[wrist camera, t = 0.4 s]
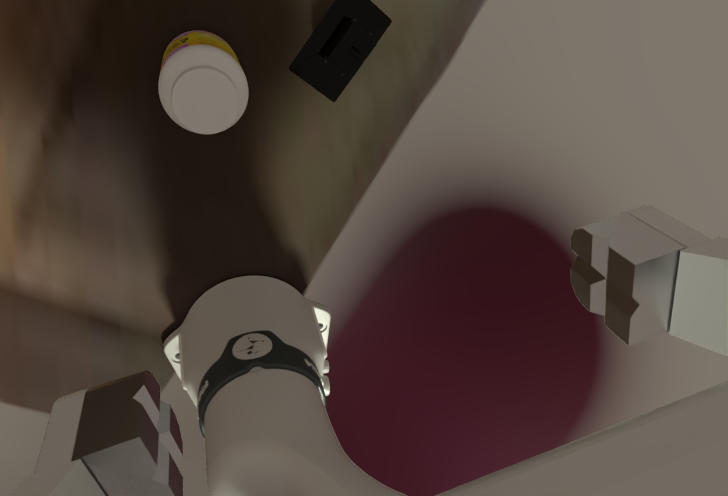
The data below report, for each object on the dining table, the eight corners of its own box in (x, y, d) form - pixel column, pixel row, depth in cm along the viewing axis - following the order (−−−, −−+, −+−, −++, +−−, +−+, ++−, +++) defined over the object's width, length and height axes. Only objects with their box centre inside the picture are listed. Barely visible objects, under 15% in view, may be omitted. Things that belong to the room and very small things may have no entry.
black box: (330, 117, 56) (341, 130, 52) (270, 73, 53) (277, 83, 49) (406, 11, 54) (424, 16, 50) (349, -42, 50) (363, -42, 46)
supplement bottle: (183, 13, 48) (184, 32, 37) (252, 56, 51) (271, 85, 40) (148, 81, 50) (139, 118, 39) (216, 119, 53) (226, 163, 42)
